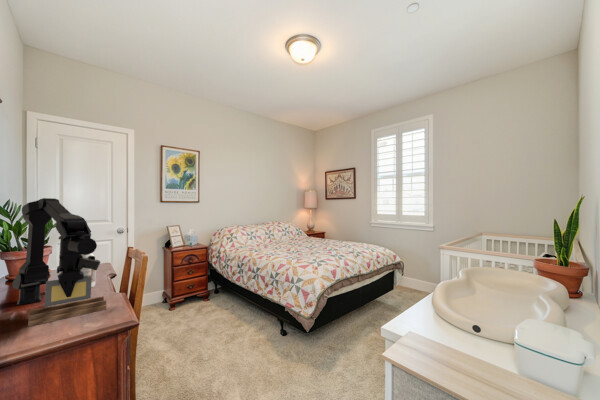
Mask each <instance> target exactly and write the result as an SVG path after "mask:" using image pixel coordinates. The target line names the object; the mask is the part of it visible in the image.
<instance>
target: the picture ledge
mask: <svg viewBox="0 0 600 400" xmlns="http://www.w3.org/2000/svg"><path fill="white" fill-rule="evenodd" d="M104 298H105V297H104V295H103V296H98V297H92V298H90V299H85V300H80V301H74V302H69V303H64V304H58V305H53V306H48V307H45V306H44V307H41V308H40V307H39V308H35V309H29V310H28V311H29V312H28V314H29V315H28V320H27V321H28V322H27V323H28V324H27V327H28V328H29V327H32V326H33V327H34V326H38V325H42V324H45V323H51V322H55V321H60V320H63V319H65V320H66V319H68V318H73V317H79V316H83V315H87V314H91V313H95V312H100V311H104V310H107V300H106V299H104Z"/></svg>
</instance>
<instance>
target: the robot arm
mask: <svg viewBox="0 0 600 400" xmlns="http://www.w3.org/2000/svg"><path fill="white" fill-rule="evenodd" d="M21 214H22V217H23V220H24V221H25V223H27V225H28V229H27V230H28V232H27V244H26V254H25V255H26V257H25V262H24V263H23V264H22V265H21V266H19V269H18V274H16V276H15V278H14V279H13V281H12V284H11V285H12V289H14V290H19V291H18V292H19V293H18V295H19V296H18V299H17V303H16V306H21V305H28V304H32V303H33V304H34V303H37V302H42V296H41V285H46V281H49V277H50V274H51V272H50V270H49V268H50V266H49V265H48V264H47V263H46V262H45V261H44V253H45V252H44V250H45V240H46V239H45V238H46V228H47V227H46V226H47V224H48V223H49V222H50V221H51V220H52V219H53V220H54V221H55V223H56V224H55V229H56V231H57V233H58V234H59V235H60V236H59V237H58V240H60V244H59V257H58V258H59V259H58V260H59V262H58V263H59V264H58V266H57V267H56V274H57V280H58V281H59V283H60V285H61V287H62V289H63V291H64V293H65V295H66V297H71V295H72V292H73V289H74V286H75V283H76V282H77V281H78V280H81V279H83V278H84V273H83V272H82V271H81V269H82V267H83V268H88V269H92V270H96V271H97V270H98V269H99V267H100V264H101V261H100V260H98V259H96V260H95V258H96V256H95V255H94V256H89V257H88V258H83V256H82V255H88V254H91V253H92V254H93V253H94V252H95V251H96V250H97V247H98V245H97V242H96V241H95V239H93V238H91V237H92V233H91V232H92V231H91V228H90V227H89V225H88V222H87V220H86V219H85V218H84V217H82V216H80V215H78V214H73V213H71V212H70V211H69V210H68V209H67V208H66V207H65V206H64V205H63V204H62V203H61V202H60V199H58V198H53V197H52V198H47V197H43V198H40V199H38V200H35V201H30V202H27V203H25V205H23V206H22V208H21Z"/></svg>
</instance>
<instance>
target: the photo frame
mask: <svg viewBox="0 0 600 400" xmlns="http://www.w3.org/2000/svg"><path fill="white" fill-rule="evenodd" d="M91 280H92V277H91V275H89V276H84V278H83V279H81V280H78V281H77V282H76V283H75V286H74V289H73V292H72V295H71V297H66V295H65V293H64V291H63V289H62V287H61V285H60V283H59V281H58V279H55V280H48V281H46V284H45V286H44V287H45V290H44V291H45V292H44V307H50V306H55V305H60V304H65V303H70V302H76V301H81V300H86V299H91V297H92V288H91Z"/></svg>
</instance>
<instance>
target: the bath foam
mask: <svg viewBox="0 0 600 400" xmlns="http://www.w3.org/2000/svg"><path fill="white" fill-rule="evenodd" d="M82 256H83V258H88V257H89V256H95V255H94V254H93V253H91V254H88V255H82ZM95 260H97V259H96V257H95ZM81 271H82V272H83V273H84V276H89V275H91V277H92V280H91V289H92V288H94V287H95V286H96V277H97V276H96V275H97V270H92V269H88V268H83V267H82V269H81Z"/></svg>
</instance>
